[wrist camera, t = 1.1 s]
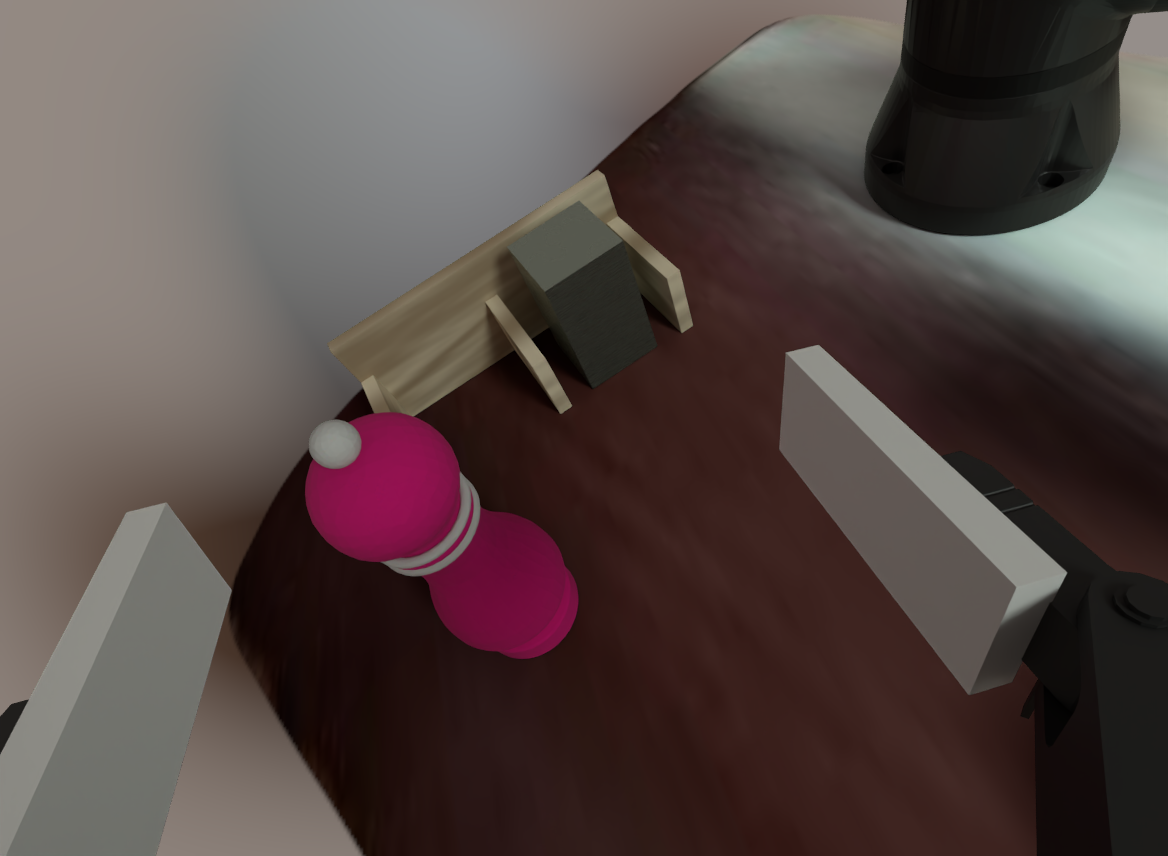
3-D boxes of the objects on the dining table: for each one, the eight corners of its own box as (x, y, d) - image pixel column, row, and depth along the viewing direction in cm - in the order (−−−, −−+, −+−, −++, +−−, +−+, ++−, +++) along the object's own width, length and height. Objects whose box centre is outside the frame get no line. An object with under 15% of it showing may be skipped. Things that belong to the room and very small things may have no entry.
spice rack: (693, 325, 46) (669, 228, 39) (436, 496, 44) (362, 429, 37) (628, 264, 51) (597, 169, 44) (397, 415, 50) (327, 343, 43)
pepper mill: (601, 643, 36) (423, 477, 20) (484, 686, 36) (220, 560, 20) (570, 532, 40) (404, 321, 24) (466, 572, 41) (237, 395, 25)
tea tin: (657, 346, 46) (623, 240, 38) (593, 389, 45) (544, 291, 37) (618, 305, 49) (579, 200, 41) (558, 344, 49) (506, 246, 41)
